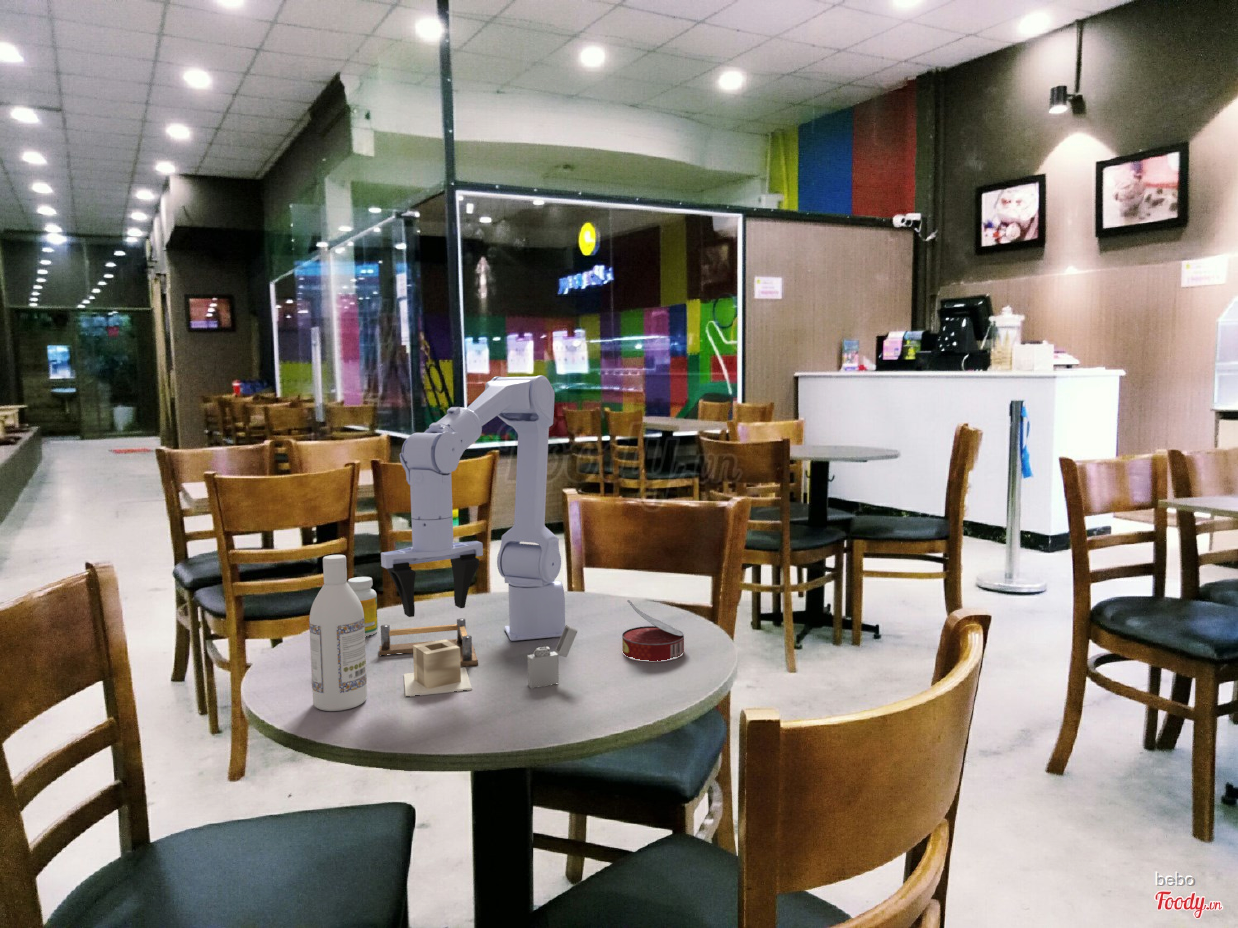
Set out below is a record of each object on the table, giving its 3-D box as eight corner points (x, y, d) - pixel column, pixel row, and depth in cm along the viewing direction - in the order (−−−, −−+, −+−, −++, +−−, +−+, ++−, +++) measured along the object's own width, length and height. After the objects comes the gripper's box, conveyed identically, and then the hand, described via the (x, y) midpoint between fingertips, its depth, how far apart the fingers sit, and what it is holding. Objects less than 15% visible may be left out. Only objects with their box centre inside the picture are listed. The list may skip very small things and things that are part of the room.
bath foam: (373, 693, 116) (368, 551, 114) (357, 712, 109) (351, 561, 107) (324, 693, 116) (318, 551, 114) (305, 712, 109) (298, 562, 107)
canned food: (636, 671, 138) (643, 612, 141) (692, 674, 133) (698, 612, 137) (603, 657, 129) (612, 594, 132) (662, 660, 124) (669, 594, 128)
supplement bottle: (340, 633, 145) (338, 578, 144) (370, 627, 148) (368, 574, 148) (352, 640, 141) (350, 584, 140) (383, 634, 144) (381, 579, 143)
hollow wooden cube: (446, 672, 123) (445, 639, 123) (460, 681, 119) (459, 647, 119) (414, 679, 120) (413, 645, 120) (427, 689, 116) (426, 654, 116)
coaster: (465, 669, 125) (465, 667, 125) (471, 690, 117) (471, 687, 117) (403, 675, 123) (403, 673, 123) (405, 697, 114) (405, 694, 114)
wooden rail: (470, 642, 139) (469, 616, 138) (478, 665, 127) (477, 637, 127) (379, 650, 135) (378, 624, 135) (379, 675, 123) (378, 646, 123)
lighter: (531, 688, 117) (530, 632, 117) (527, 684, 119) (526, 629, 118) (578, 681, 120) (577, 626, 119) (574, 677, 122) (573, 623, 121)
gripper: (467, 509, 126) (470, 597, 127) (372, 518, 117) (376, 613, 119) (488, 514, 120) (490, 607, 121) (389, 525, 112) (393, 624, 113)
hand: (435, 611), depth 120 cm, fingers open, 7 cm apart
